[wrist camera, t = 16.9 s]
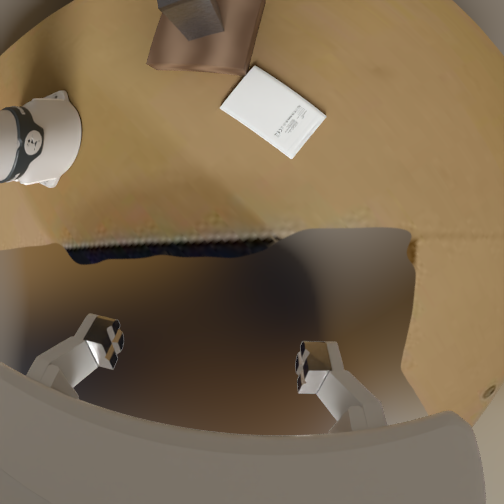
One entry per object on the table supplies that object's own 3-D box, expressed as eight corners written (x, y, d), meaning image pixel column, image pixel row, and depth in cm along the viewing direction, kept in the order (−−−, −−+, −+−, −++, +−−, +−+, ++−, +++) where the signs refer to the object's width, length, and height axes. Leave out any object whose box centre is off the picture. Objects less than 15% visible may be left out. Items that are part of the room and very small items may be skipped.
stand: (157, 70, 32) (146, 63, 29) (179, 0, 27) (171, -11, 23) (246, 76, 32) (243, 68, 29) (265, 3, 27) (264, -9, 23)
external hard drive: (255, 67, 32) (325, 117, 34) (221, 109, 35) (290, 159, 37) (254, 64, 31) (327, 115, 33) (219, 108, 33) (291, 159, 35)
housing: (188, 41, 27) (158, 8, 17) (183, 15, 25) (154, -20, 15) (224, 31, 26) (205, -8, 16) (218, 5, 25) (199, -35, 15)
